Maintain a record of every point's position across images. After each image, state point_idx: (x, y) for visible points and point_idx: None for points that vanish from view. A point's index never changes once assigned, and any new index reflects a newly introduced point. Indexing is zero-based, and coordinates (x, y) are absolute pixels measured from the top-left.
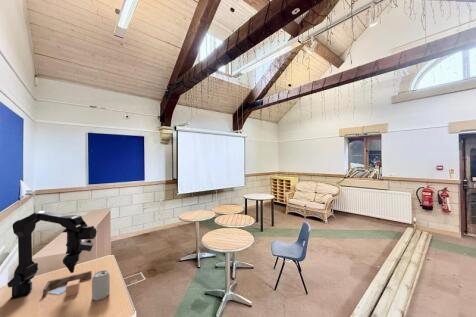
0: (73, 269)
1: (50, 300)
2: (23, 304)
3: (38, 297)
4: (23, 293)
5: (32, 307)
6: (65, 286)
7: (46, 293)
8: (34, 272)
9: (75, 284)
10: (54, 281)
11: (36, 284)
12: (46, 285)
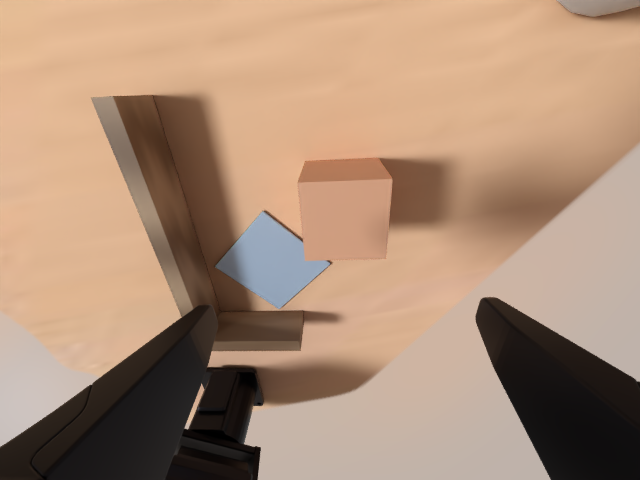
0: (552, 338)
1: (368, 284)
2: (331, 362)
3: None
4: (248, 387)
5: (385, 332)
6: (241, 249)
7: (294, 317)
8: (186, 474)
9: (389, 198)
10: None
11: None
12: (252, 347)
